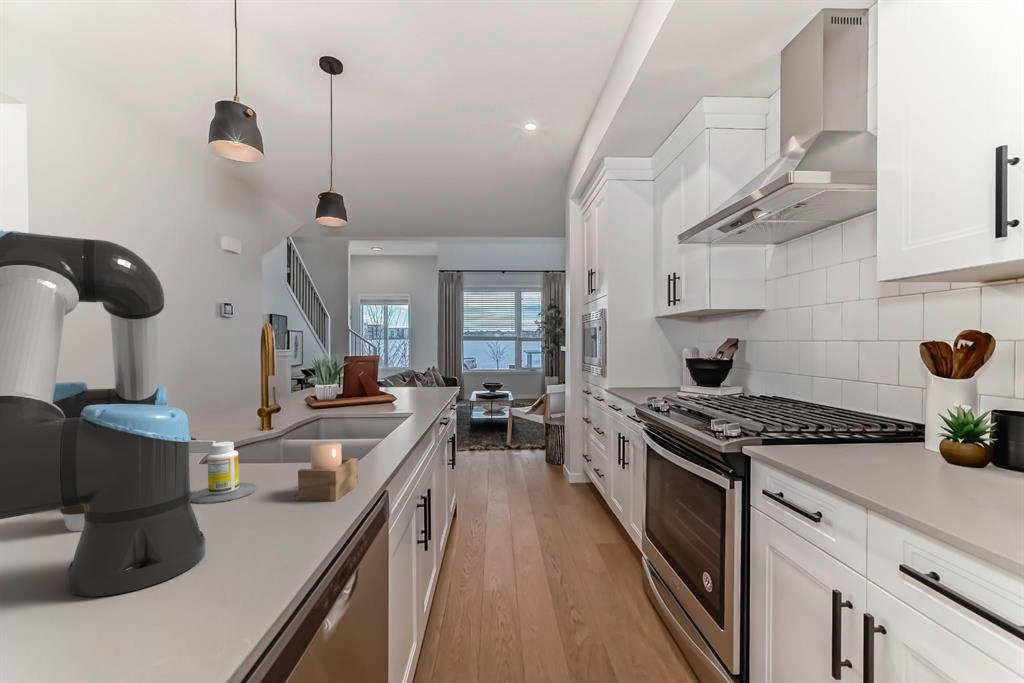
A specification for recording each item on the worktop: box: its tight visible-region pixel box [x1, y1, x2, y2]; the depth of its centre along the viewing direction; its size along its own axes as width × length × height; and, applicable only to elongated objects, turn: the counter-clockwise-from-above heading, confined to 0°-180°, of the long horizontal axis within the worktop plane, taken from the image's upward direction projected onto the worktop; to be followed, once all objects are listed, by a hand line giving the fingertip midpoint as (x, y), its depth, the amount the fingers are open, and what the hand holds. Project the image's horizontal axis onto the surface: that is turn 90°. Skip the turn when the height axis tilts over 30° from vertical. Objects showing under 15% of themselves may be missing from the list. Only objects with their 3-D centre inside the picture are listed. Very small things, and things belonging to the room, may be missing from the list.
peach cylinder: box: [310, 441, 343, 469], centre depth 96 cm, size 6×6×10 cm
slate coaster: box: [190, 482, 258, 504], centre depth 96 cm, size 12×12×1 cm
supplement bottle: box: [207, 441, 240, 495], centre depth 96 cm, size 6×6×10 cm
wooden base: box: [293, 457, 359, 502], centre depth 96 cm, size 10×9×6 cm
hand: (190, 454), depth 98 cm, fingers open, 13 cm apart
